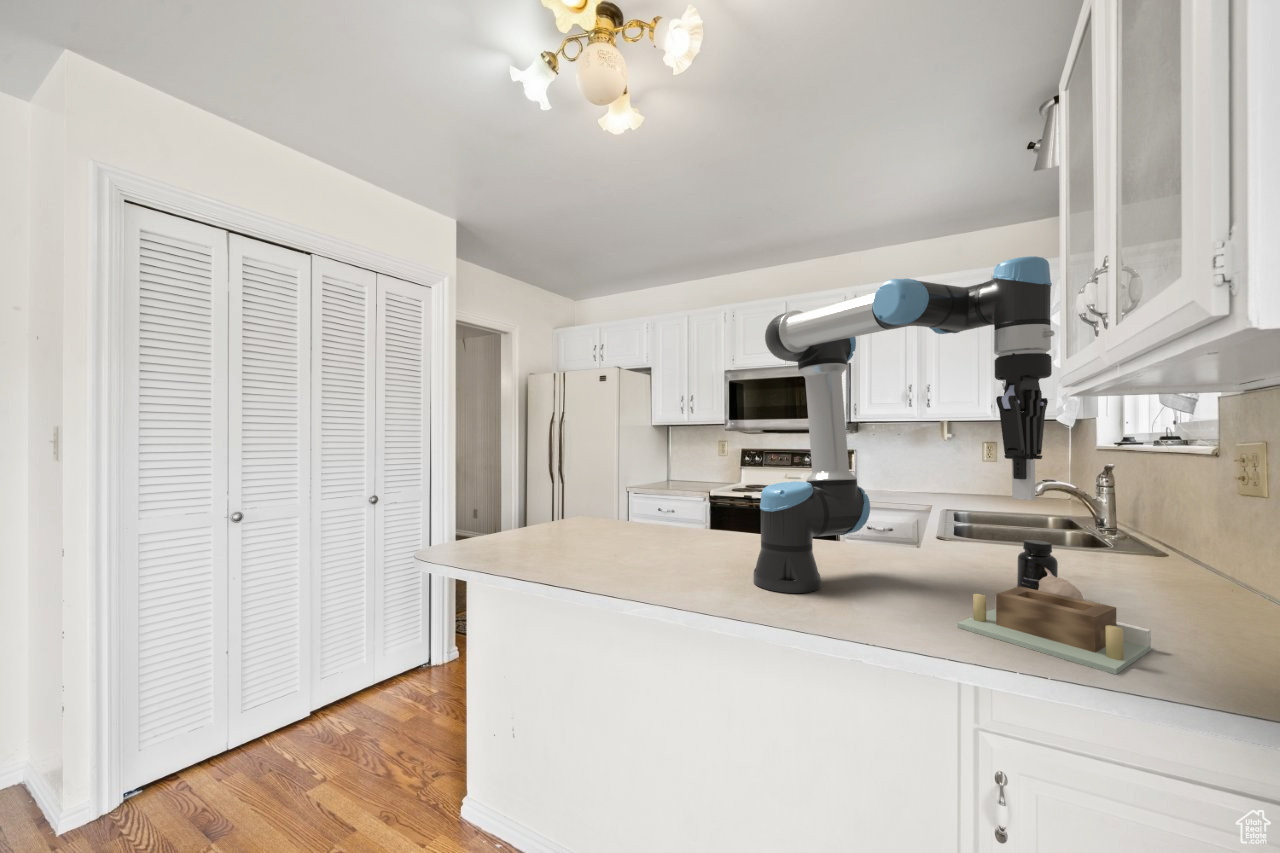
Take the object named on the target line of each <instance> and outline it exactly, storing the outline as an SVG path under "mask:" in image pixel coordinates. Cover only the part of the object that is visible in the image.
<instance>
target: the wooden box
mask: <svg viewBox="0 0 1280 853" xmlns="http://www.w3.org/2000/svg"><path fill="white" fill-rule="evenodd" d="M995 596H996V625H999V626H1002V627H1006V628H1009V629H1013V630H1016V631H1020V632H1024V633H1027V634H1031V635H1034V636H1038V637H1041V638H1045V639H1048V640H1052V641H1055V642H1059V643H1063V644H1066V645H1070V646H1073V647H1077V648H1080V649H1084V650H1087V651H1091V652H1094V653H1096V652H1097V651H1099V650H1101V649H1103V648H1105V647H1106V626H1107V625H1111V626H1117V624H1116V622H1117V607H1116V606H1111V605H1107V604H1104V603H1097V602H1093V601H1089V600H1084V599H1083V600H1080V599H1076V598H1071V597H1066V596H1062V595H1057V594H1053V593H1048V592H1043V591H1039V590H1034V589H1030V588H1025V587H1020V586H1019V587H1017V586H1016V587H1013V588H1010V589H1007V590H1004V591H1000V592H997V593H996V594H995Z"/></svg>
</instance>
